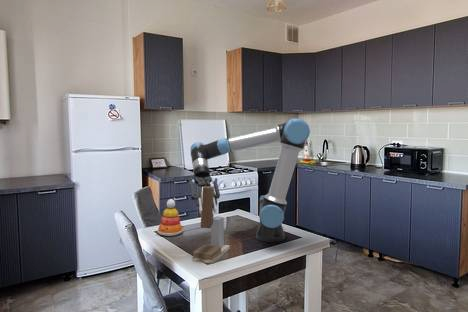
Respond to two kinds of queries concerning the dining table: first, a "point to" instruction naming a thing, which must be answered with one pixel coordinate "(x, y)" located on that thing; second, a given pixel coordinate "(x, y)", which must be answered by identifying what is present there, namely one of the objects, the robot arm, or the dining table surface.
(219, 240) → the grey pillar
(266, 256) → the dining table surface
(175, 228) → the stacking toy
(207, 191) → the wooden block
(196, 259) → the base board
